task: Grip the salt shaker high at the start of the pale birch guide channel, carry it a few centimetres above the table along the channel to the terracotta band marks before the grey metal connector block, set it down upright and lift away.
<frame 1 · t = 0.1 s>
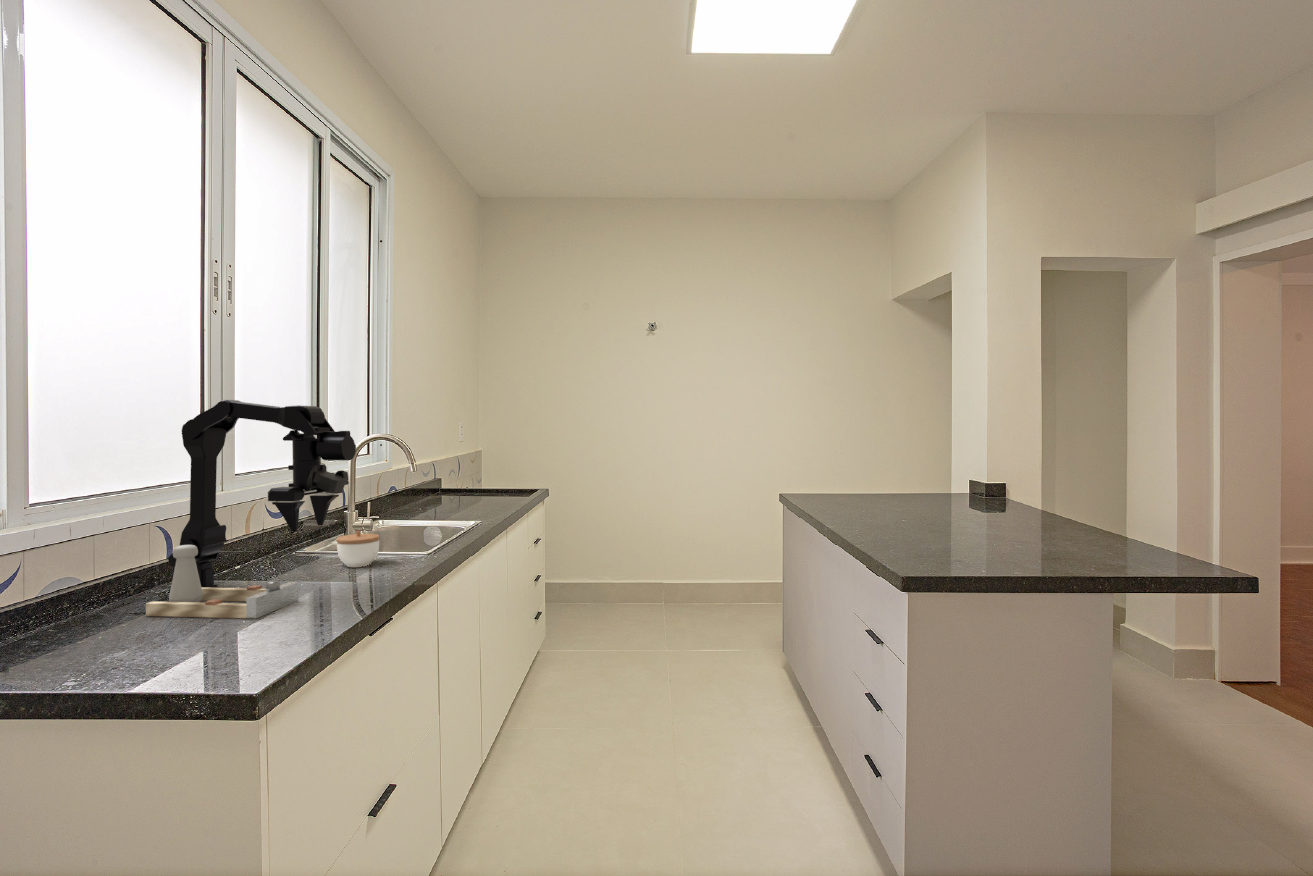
hand: (307, 528, 148), 15 cm above the worktop, fingers open, 9 cm apart
cord guide: (221, 607, 135), on the worktop
lidded jar: (358, 565, 176), on the worktop
salt shaker: (186, 608, 136), on the worktop
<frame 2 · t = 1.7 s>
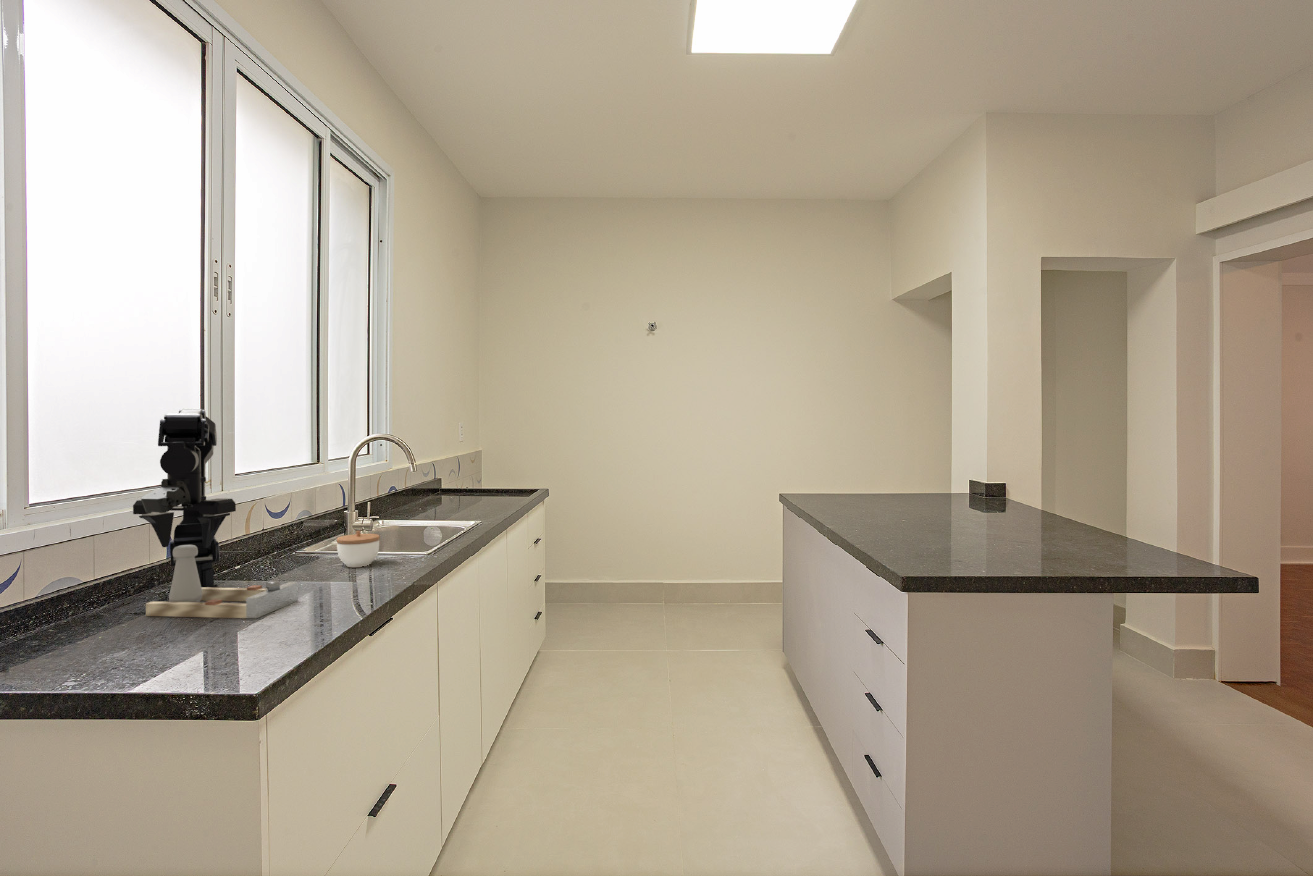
hand: (185, 547, 135), 13 cm above the worktop, fingers open, 9 cm apart
nothing on the worktop moved.
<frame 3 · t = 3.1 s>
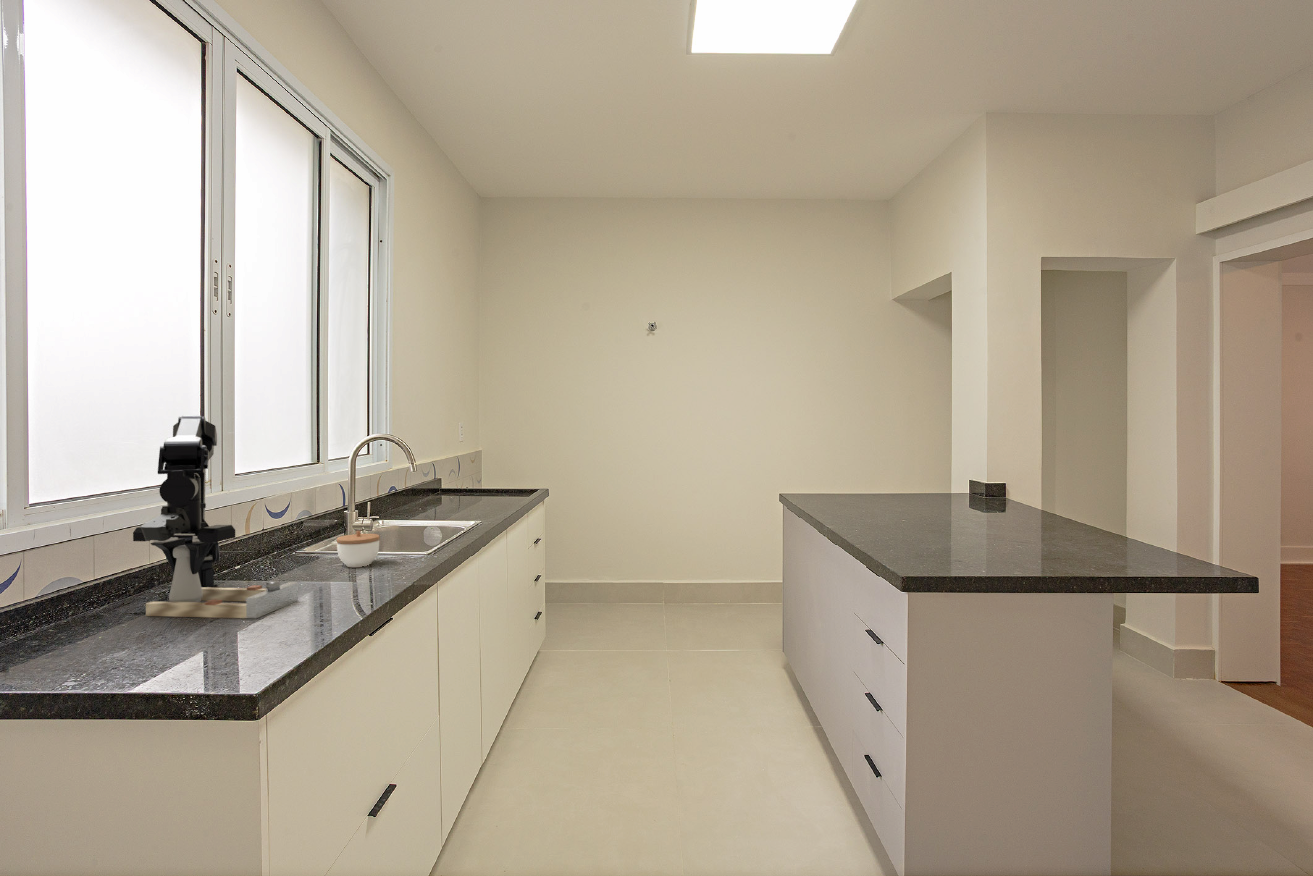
hand: (185, 573, 135), 7 cm above the worktop, fingers closed on salt shaker, 4 cm apart
salt shaker: (186, 608, 136), on the worktop, touching gripper
everything else where it was.
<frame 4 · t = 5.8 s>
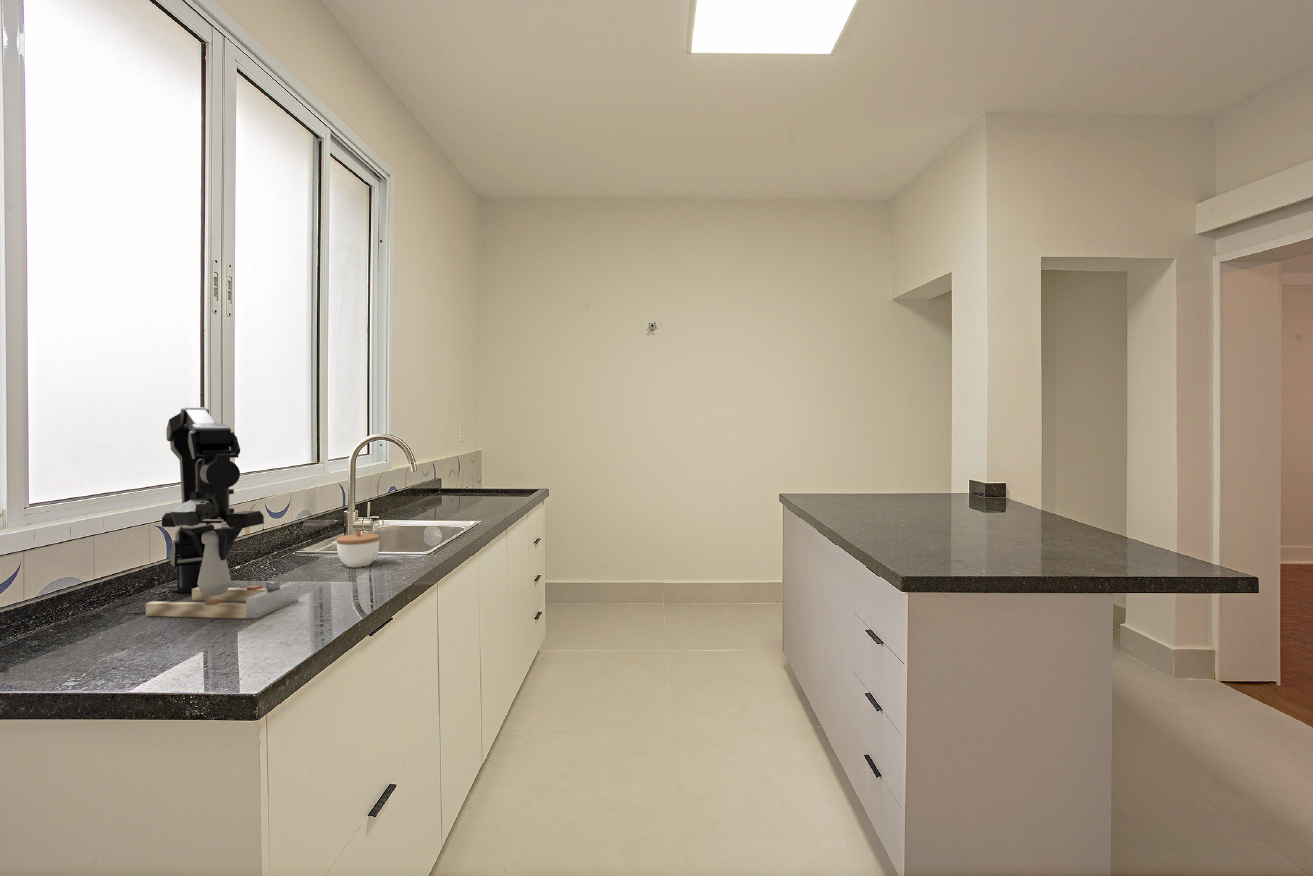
hand: (214, 560, 135), 10 cm above the worktop, fingers closed on salt shaker, 4 cm apart
salt shaker: (214, 594, 135), point 3 cm above the worktop, touching gripper
everything else where it was.
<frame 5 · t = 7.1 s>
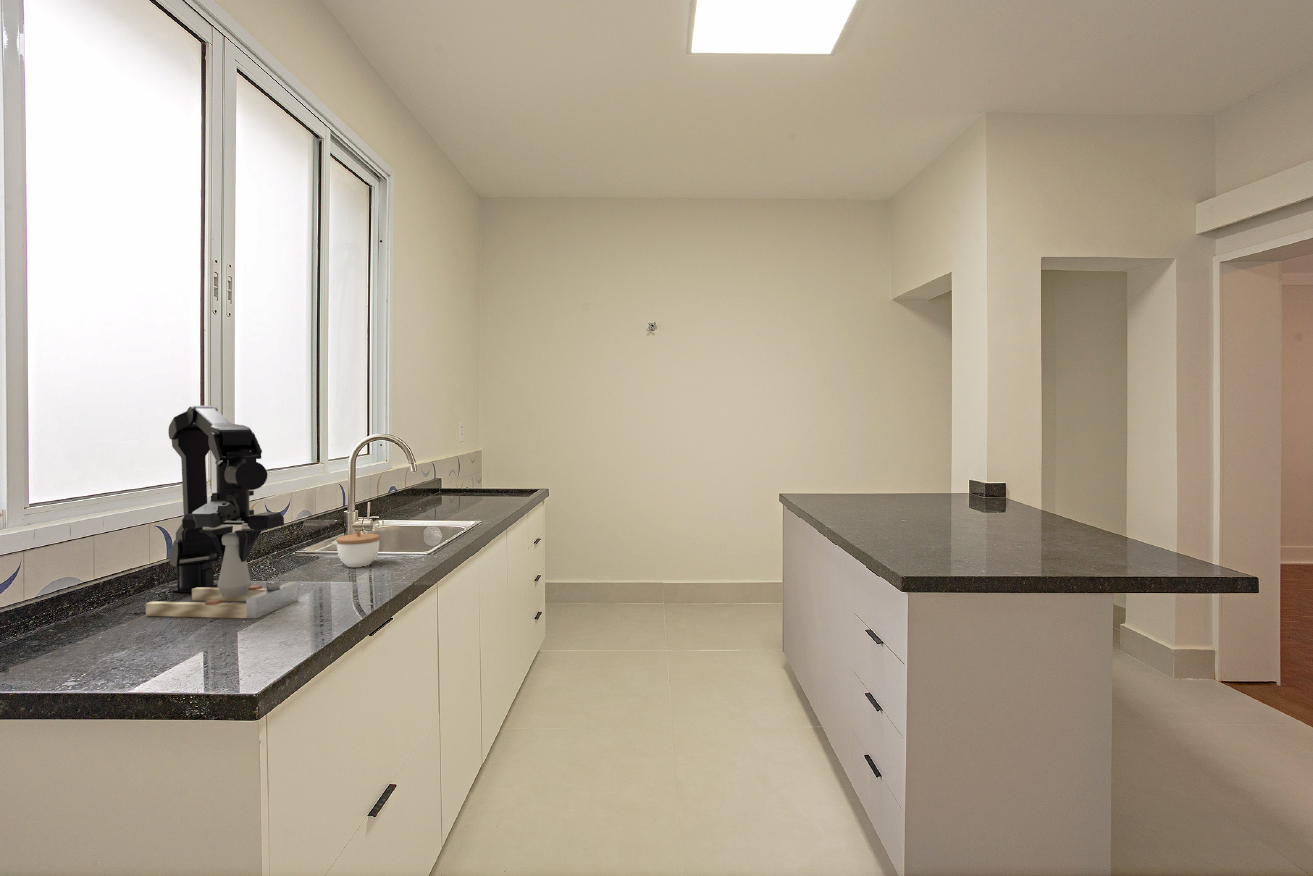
hand: (234, 561, 134), 10 cm above the worktop, fingers closed on salt shaker, 4 cm apart
salt shaker: (234, 595, 135), point 3 cm above the worktop, touching gripper
everything else where it was.
when the fingers open (8 cm above the worktop, at t = 8.1 s): salt shaker stays where it is, on the worktop.
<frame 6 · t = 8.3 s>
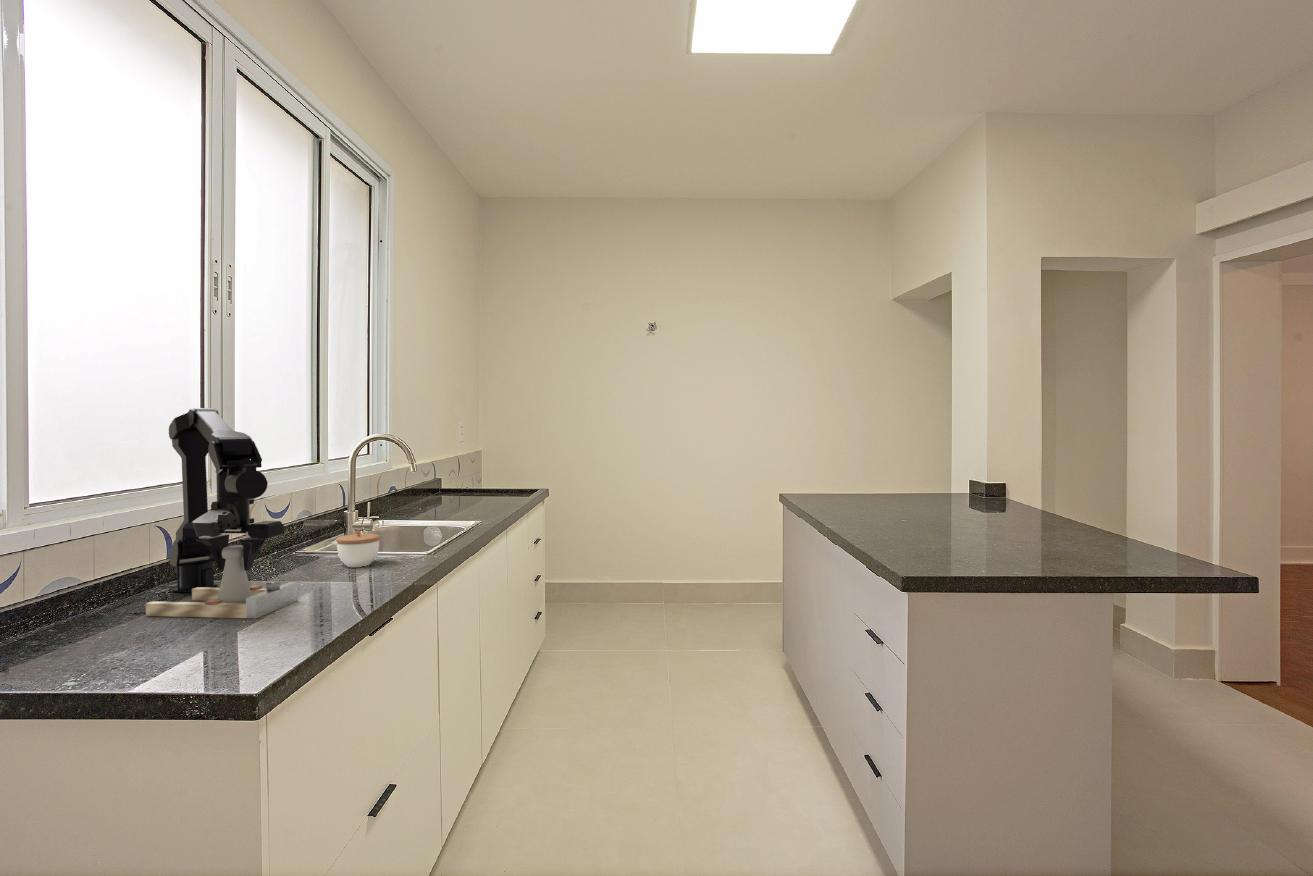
hand: (234, 570, 134), 8 cm above the worktop, fingers open, 5 cm apart
salt shaker: (234, 609, 135), on the worktop
everything else where it was.
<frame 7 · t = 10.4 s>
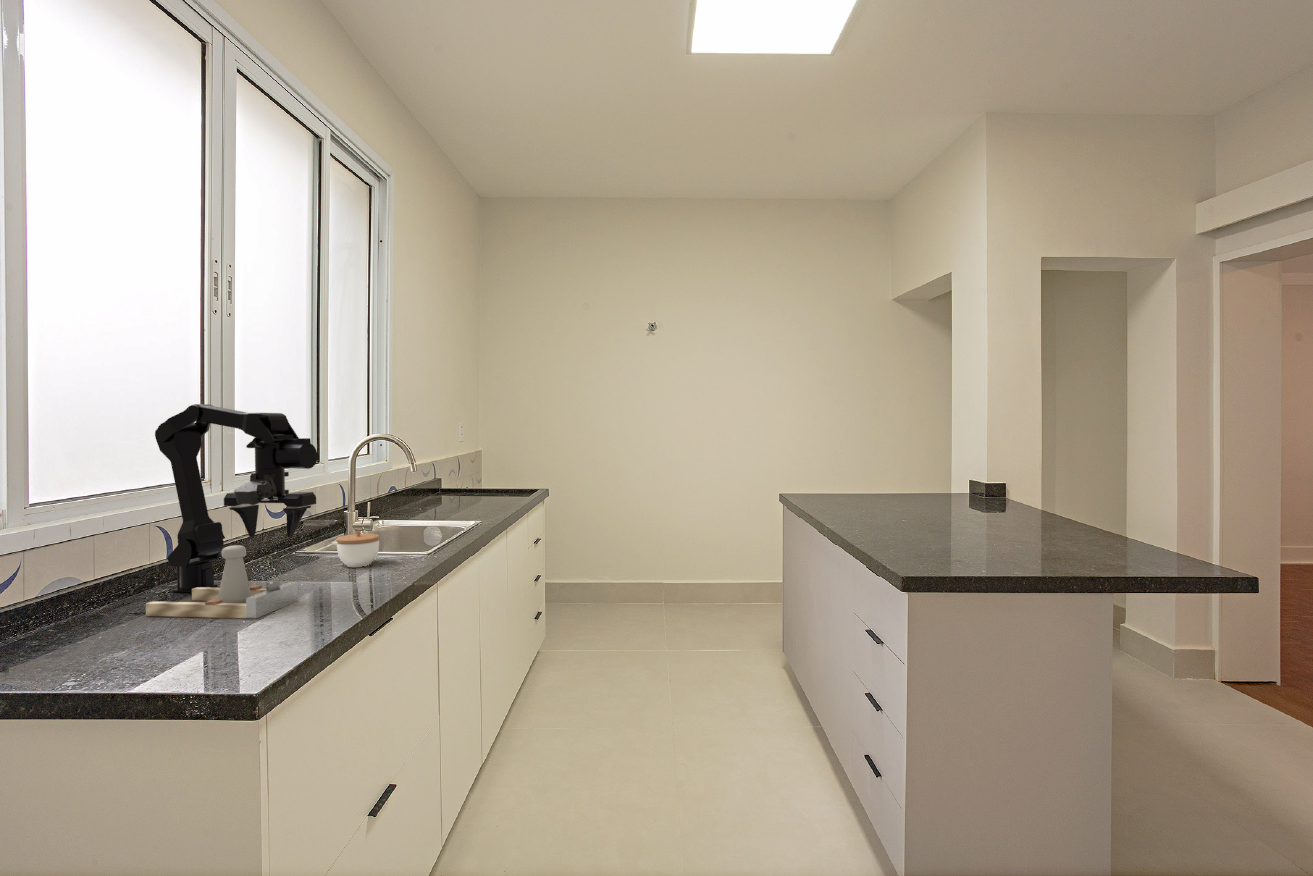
hand: (270, 537, 146), 13 cm above the worktop, fingers open, 9 cm apart
nothing on the worktop moved.
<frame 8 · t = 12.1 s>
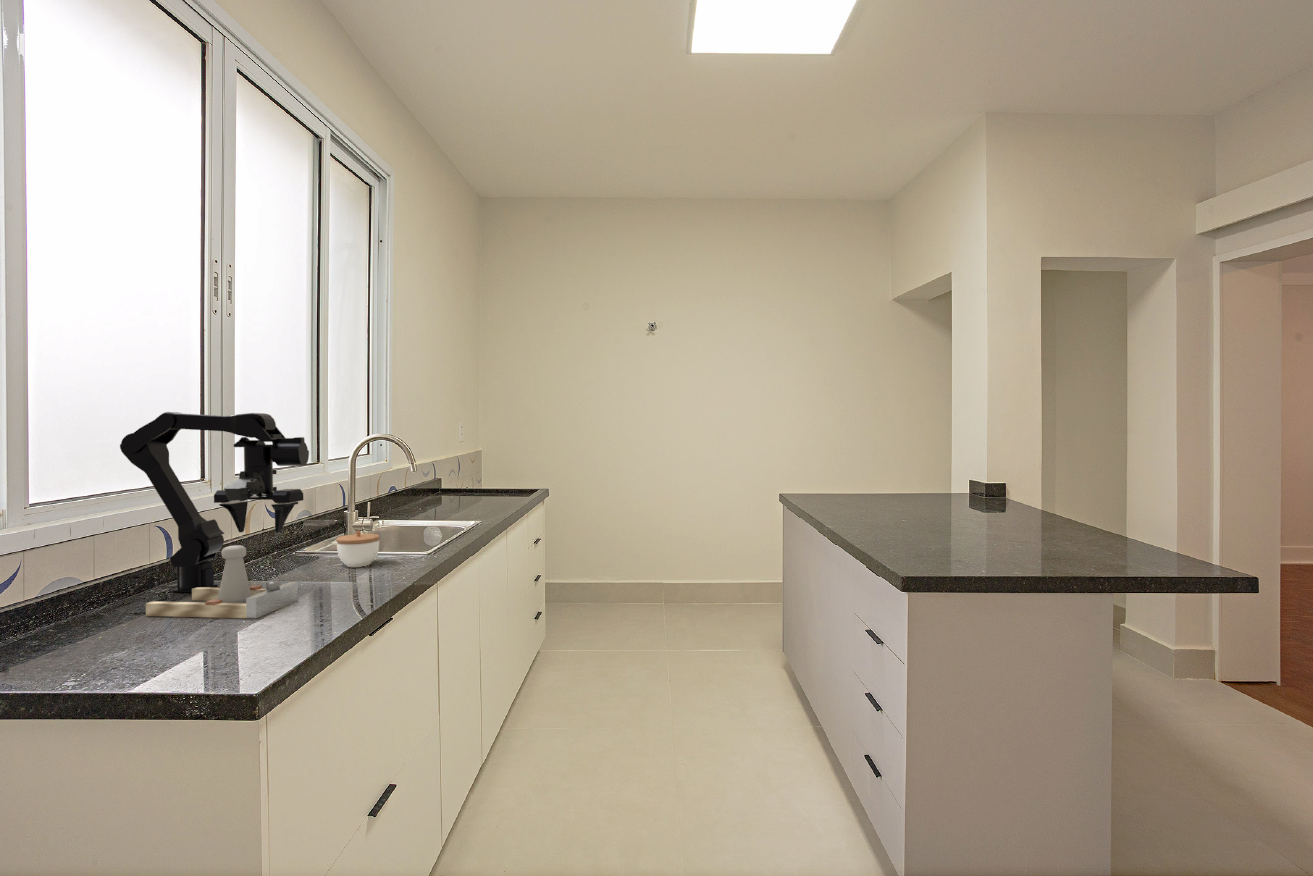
hand: (259, 532, 152), 13 cm above the worktop, fingers open, 9 cm apart
nothing on the worktop moved.
at the end: salt shaker 0.4 cm from the target spot, on the worktop; salt shaker tilted 0°; the gripper is holding nothing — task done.
